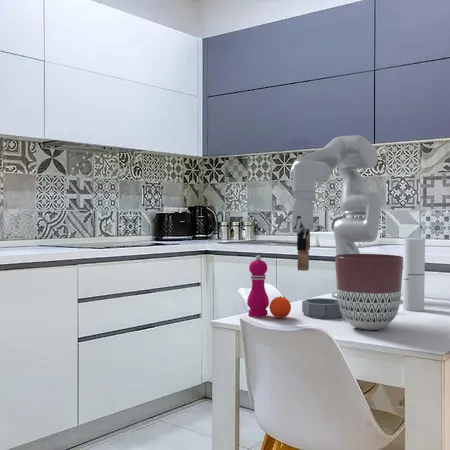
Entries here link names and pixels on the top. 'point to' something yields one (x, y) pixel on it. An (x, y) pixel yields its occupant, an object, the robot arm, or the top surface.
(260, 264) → the pepper mill
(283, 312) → the clementine
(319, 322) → the top surface
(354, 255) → the planter
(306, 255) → the brown wooden block
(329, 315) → the grey faceted bowl
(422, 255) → the cylindrical container
